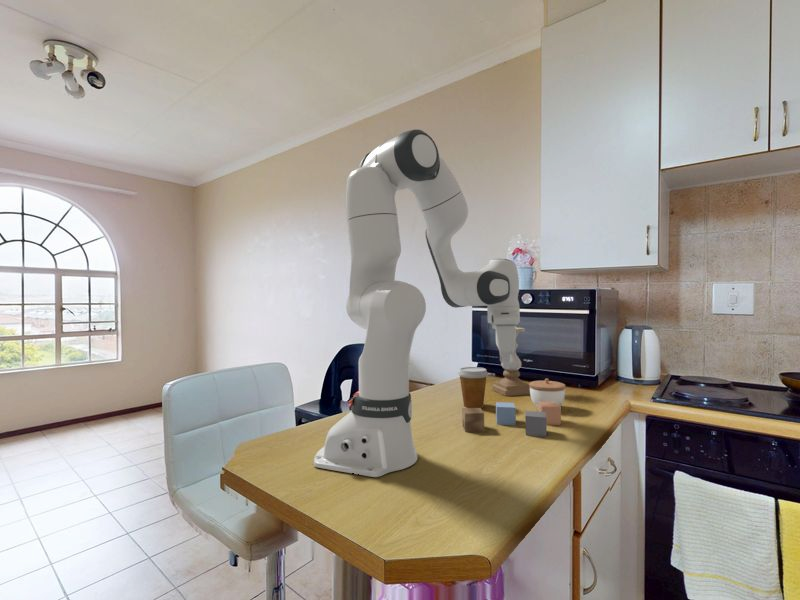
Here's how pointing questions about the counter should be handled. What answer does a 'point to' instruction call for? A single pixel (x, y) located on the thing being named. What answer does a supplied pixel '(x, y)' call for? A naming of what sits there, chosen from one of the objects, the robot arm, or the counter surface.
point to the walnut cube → (473, 419)
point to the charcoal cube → (536, 423)
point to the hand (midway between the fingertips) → (504, 365)
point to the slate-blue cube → (505, 413)
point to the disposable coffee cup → (473, 386)
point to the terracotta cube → (550, 412)
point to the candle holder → (512, 376)
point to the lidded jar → (547, 391)
